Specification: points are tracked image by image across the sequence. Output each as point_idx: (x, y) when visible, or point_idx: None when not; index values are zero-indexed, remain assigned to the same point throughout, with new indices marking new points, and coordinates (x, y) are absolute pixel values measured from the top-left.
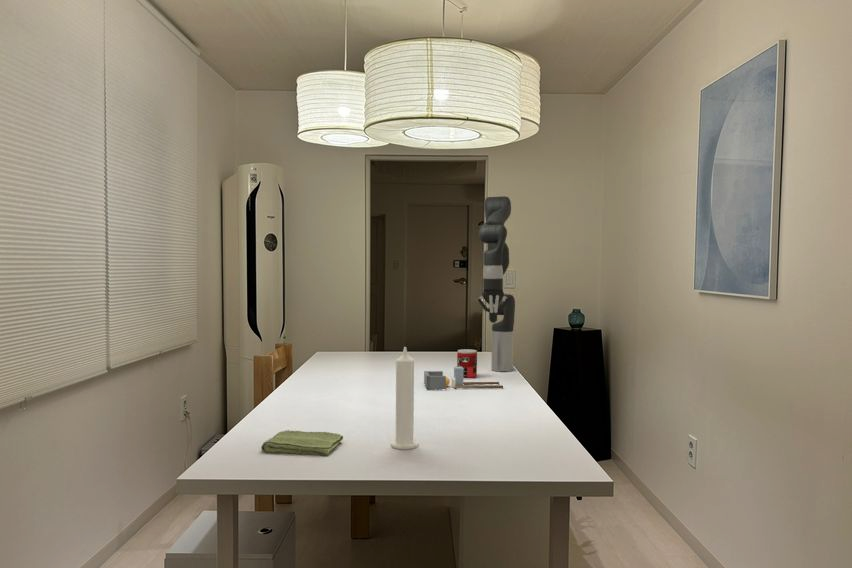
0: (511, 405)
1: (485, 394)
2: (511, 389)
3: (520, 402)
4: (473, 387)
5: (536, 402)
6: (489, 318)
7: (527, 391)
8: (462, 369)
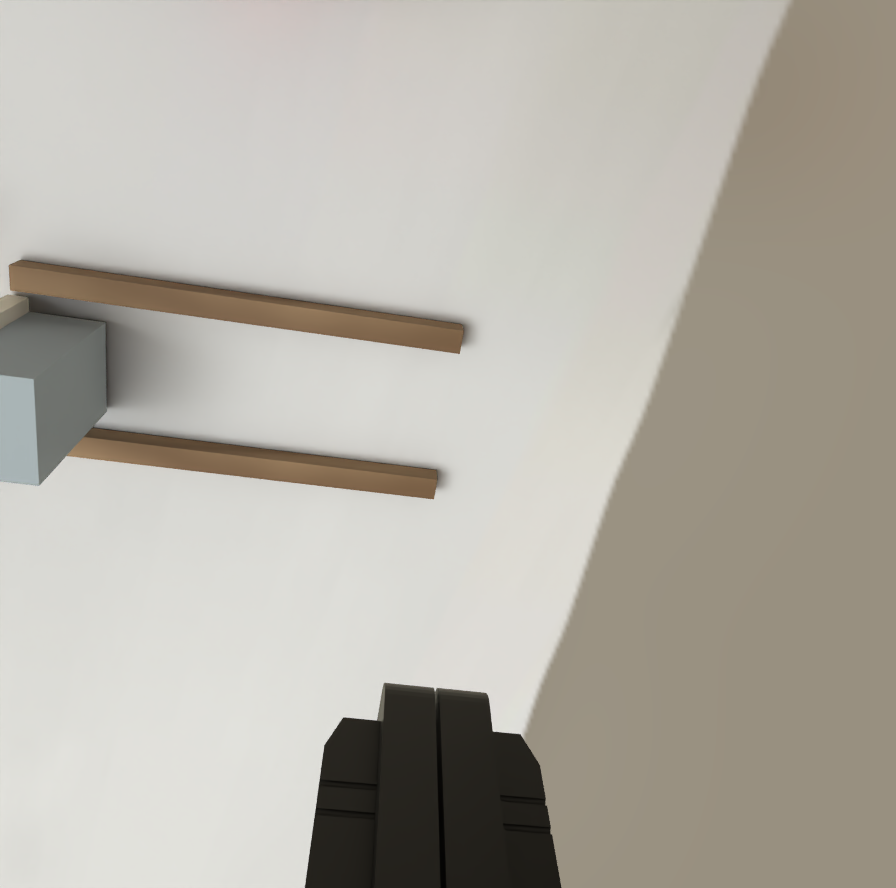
0: None
1: (240, 633)
2: (487, 519)
3: None
4: (186, 466)
5: None
6: (322, 796)
7: (571, 594)
8: (33, 479)
